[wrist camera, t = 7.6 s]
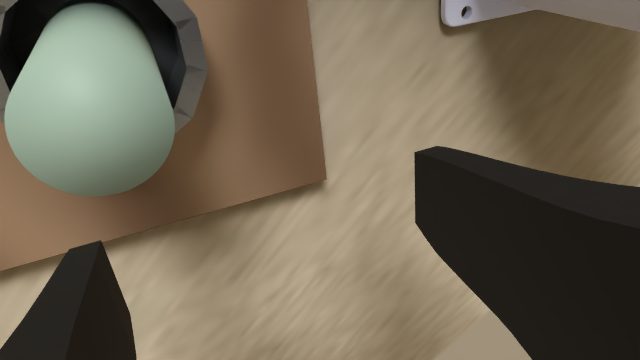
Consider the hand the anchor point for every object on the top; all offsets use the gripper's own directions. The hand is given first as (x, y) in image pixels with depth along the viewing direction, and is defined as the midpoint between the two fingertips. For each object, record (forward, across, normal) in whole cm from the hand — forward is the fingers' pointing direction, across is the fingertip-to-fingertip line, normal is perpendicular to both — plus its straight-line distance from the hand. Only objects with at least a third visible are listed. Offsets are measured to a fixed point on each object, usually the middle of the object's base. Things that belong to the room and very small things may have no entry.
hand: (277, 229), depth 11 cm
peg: (+8, +3, -3) cm, 9 cm away
